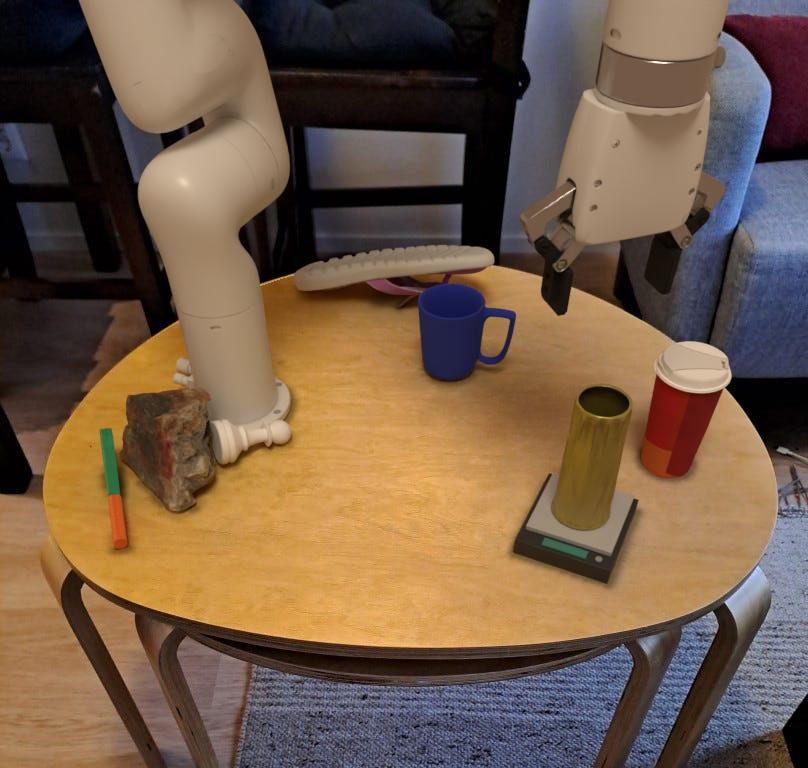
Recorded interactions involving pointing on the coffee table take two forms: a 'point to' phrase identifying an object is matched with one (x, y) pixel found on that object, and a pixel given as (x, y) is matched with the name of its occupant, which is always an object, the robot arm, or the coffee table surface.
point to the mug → (456, 330)
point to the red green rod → (113, 489)
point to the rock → (170, 443)
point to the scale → (574, 535)
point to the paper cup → (682, 405)
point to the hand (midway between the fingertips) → (605, 296)
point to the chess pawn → (244, 438)
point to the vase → (592, 456)
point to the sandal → (394, 268)
